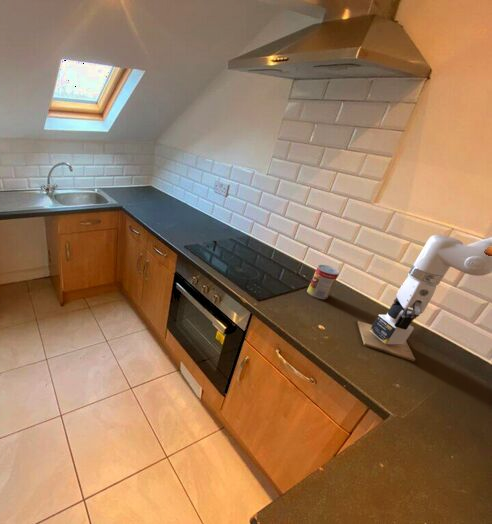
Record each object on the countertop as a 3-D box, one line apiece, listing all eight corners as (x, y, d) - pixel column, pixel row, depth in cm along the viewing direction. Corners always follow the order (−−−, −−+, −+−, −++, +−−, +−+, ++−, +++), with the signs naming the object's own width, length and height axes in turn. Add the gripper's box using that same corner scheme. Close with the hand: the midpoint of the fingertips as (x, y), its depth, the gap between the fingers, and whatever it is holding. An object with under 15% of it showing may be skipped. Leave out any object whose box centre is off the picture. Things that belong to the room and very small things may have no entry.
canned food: (323, 290, 130) (334, 266, 125) (330, 300, 124) (342, 275, 118) (304, 287, 131) (315, 263, 126) (310, 297, 124) (321, 272, 119)
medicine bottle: (368, 330, 105) (385, 302, 100) (386, 330, 106) (403, 302, 101) (385, 344, 99) (403, 315, 94) (403, 344, 100) (423, 316, 95)
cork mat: (401, 336, 107) (402, 334, 106) (414, 361, 95) (415, 359, 95) (357, 322, 112) (358, 320, 111) (364, 344, 100) (365, 343, 100)
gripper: (452, 291, 83) (418, 340, 91) (429, 267, 97) (402, 311, 105) (419, 283, 85) (389, 331, 93) (402, 260, 100) (377, 304, 108)
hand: (396, 320), depth 99 cm, fingers closed on medicine bottle, 7 cm apart
